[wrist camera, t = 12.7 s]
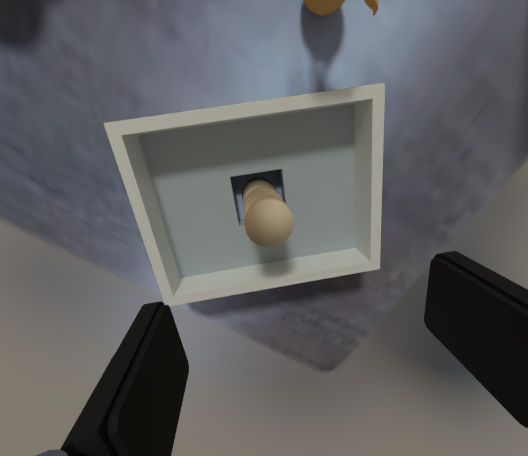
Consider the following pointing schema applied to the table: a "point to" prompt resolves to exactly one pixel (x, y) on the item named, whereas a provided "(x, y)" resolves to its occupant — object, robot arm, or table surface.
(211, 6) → the table surface
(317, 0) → the figurine
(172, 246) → the tray
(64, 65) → the table surface
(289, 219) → the peg
